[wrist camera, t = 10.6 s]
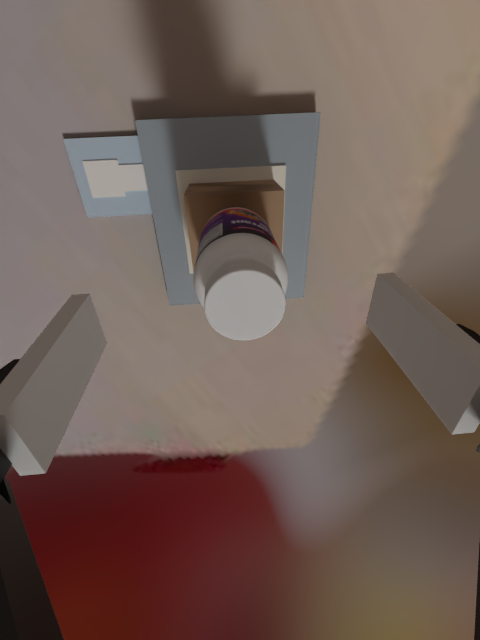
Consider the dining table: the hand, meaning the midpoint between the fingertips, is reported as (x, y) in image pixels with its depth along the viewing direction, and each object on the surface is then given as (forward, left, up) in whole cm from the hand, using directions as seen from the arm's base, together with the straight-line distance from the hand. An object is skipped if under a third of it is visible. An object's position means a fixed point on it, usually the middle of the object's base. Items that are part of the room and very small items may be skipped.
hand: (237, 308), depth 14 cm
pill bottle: (0, 0, -10) cm, 10 cm away
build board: (0, 0, -16) cm, 16 cm away
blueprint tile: (-9, +4, -16) cm, 19 cm away
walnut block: (0, 0, -15) cm, 15 cm away
